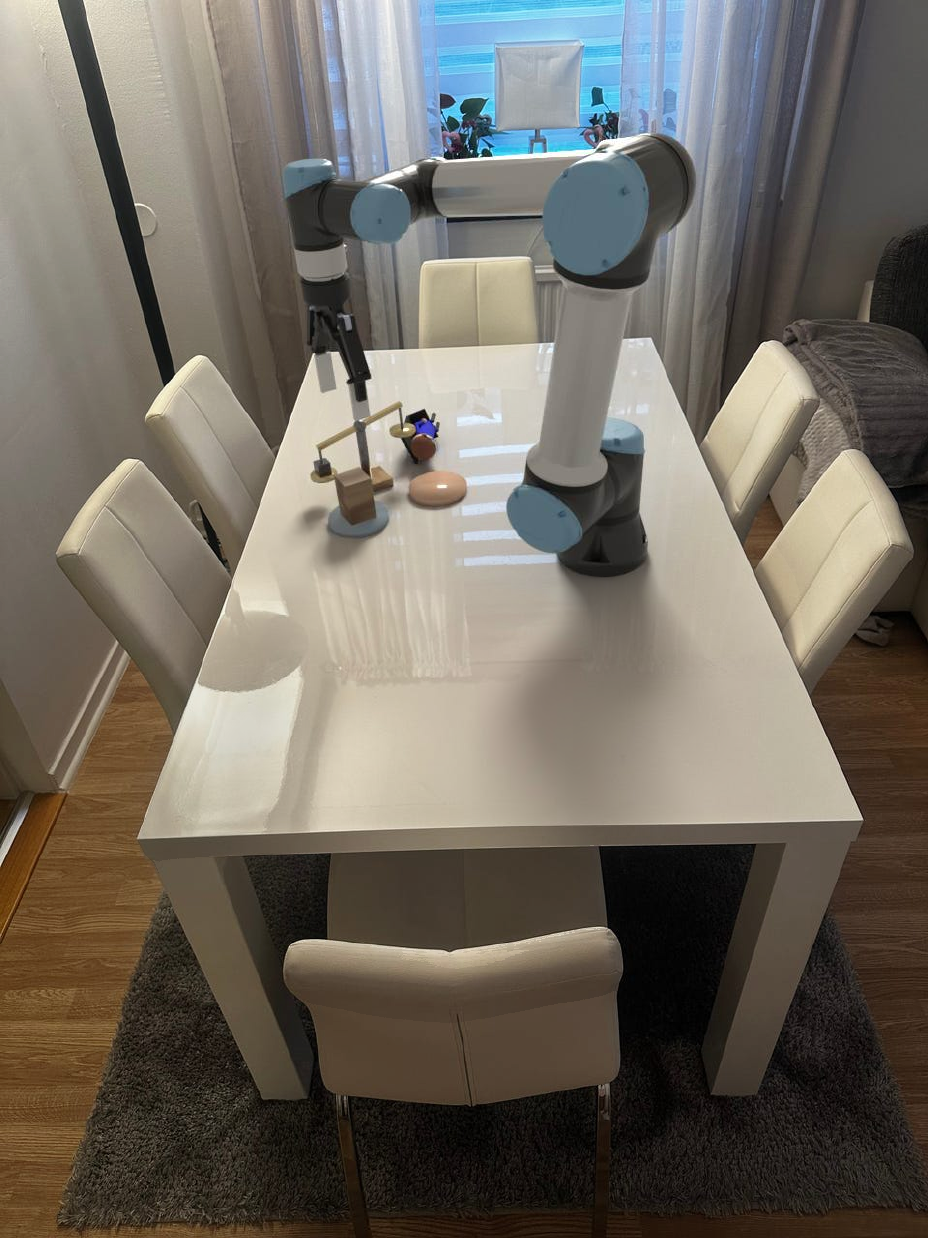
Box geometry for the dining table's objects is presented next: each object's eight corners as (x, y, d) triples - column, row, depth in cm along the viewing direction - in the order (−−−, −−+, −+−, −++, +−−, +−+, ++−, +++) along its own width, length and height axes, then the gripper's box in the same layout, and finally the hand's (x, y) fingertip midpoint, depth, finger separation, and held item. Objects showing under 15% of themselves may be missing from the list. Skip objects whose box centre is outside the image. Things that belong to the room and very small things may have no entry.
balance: (425, 474, 175) (418, 404, 165) (322, 508, 167) (308, 437, 158) (411, 462, 179) (403, 393, 170) (310, 495, 171) (296, 424, 162)
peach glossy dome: (477, 494, 168) (477, 488, 167) (426, 512, 164) (425, 506, 163) (449, 470, 175) (448, 465, 174) (399, 487, 171) (398, 481, 171)
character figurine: (443, 436, 188) (434, 471, 176) (409, 434, 188) (398, 469, 177) (443, 401, 183) (434, 436, 171) (408, 399, 183) (397, 433, 172)
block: (376, 517, 161) (371, 478, 156) (351, 525, 159) (345, 486, 154) (365, 505, 165) (359, 466, 160) (340, 513, 163) (333, 475, 158)
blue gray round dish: (399, 524, 161) (398, 519, 160) (343, 544, 157) (342, 538, 156) (373, 499, 168) (372, 493, 168) (319, 517, 165) (318, 511, 164)
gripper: (382, 288, 128) (398, 423, 141) (314, 250, 146) (335, 374, 159) (334, 300, 125) (355, 437, 139) (271, 260, 143) (296, 385, 156)
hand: (344, 403), depth 149 cm, fingers open, 13 cm apart
